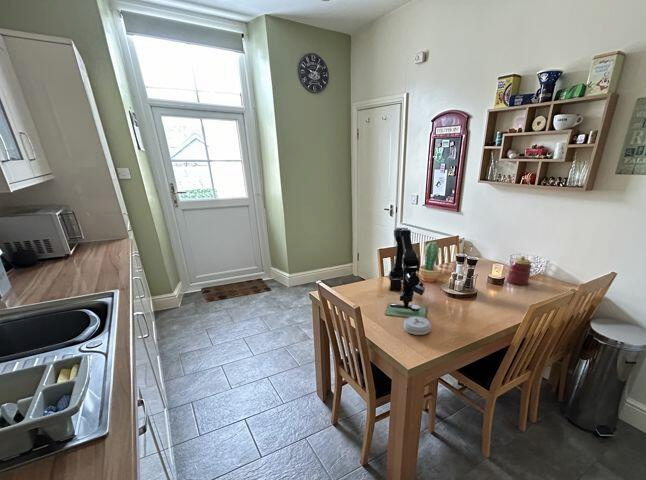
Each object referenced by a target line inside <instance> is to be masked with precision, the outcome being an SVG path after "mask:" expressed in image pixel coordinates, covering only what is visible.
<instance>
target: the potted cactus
mask: <svg viewBox="0 0 646 480" xmlns="http://www.w3.org/2000/svg"><path fill="white" fill-rule="evenodd" d="M439 252H440V247H439V246H438V243H437V242H436V241H429V242H428V244H427V245H426V246H425V253H424V254H425V261H424V264H420V269H419V271H418V272H419V274H420V276H421V280H422V281H424V282H428V283H431V282H435V281H436V278H437V277H438V276H439V274H440V273H441V272H442V268H441V266H438V265H435V264H436V261H437V259H438V257H439Z"/></svg>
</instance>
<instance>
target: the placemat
mask: <svg viewBox="0 0 646 480" xmlns="http://www.w3.org/2000/svg"><path fill="white" fill-rule="evenodd" d="M390 304H393V303H391V302H390V303H388V307H387V310H386V312H385V316H392V317H393V316H394V317H402V318H409V317H414V316H417V317H423V318H425V319H426V314H427V313H426V312H427V306H421V305H420V306H419V305H418V306H419V307H420V310H419V311H418V312H414V311H411V309H402V308H393V307H390ZM396 304H397V305H402V303H396ZM408 306H412V305H411V304H409V305H408Z"/></svg>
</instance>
